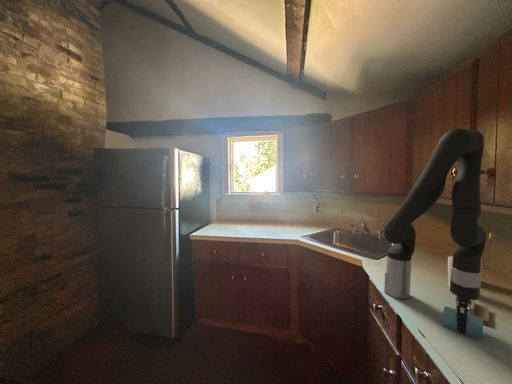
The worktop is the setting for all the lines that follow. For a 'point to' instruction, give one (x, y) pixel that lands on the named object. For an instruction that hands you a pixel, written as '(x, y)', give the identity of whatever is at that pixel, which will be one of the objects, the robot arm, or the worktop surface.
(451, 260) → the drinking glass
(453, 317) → the block
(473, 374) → the worktop surface
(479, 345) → the worktop surface
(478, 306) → the rail stand
